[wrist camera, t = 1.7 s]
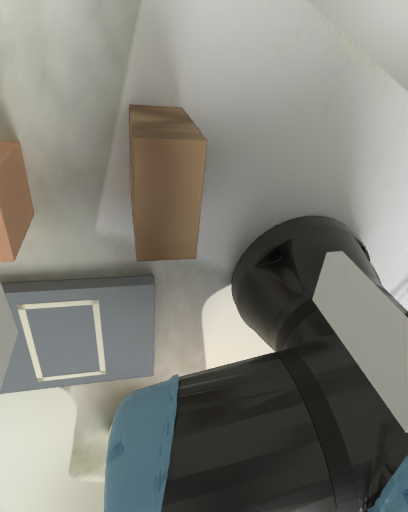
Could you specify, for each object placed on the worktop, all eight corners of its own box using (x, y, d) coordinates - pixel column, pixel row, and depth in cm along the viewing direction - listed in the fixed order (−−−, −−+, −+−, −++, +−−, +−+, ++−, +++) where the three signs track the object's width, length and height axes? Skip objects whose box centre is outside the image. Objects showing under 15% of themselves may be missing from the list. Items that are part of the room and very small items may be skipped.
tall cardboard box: (181, 107, 26) (207, 140, 19) (176, 202, 31) (195, 258, 23) (129, 104, 25) (134, 137, 18) (131, 202, 30) (136, 261, 23)
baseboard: (153, 275, 35) (154, 284, 33) (152, 365, 42) (153, 376, 41) (-49, 285, 31) (-56, 297, 29) (-10, 383, 38) (-14, 396, 37)
